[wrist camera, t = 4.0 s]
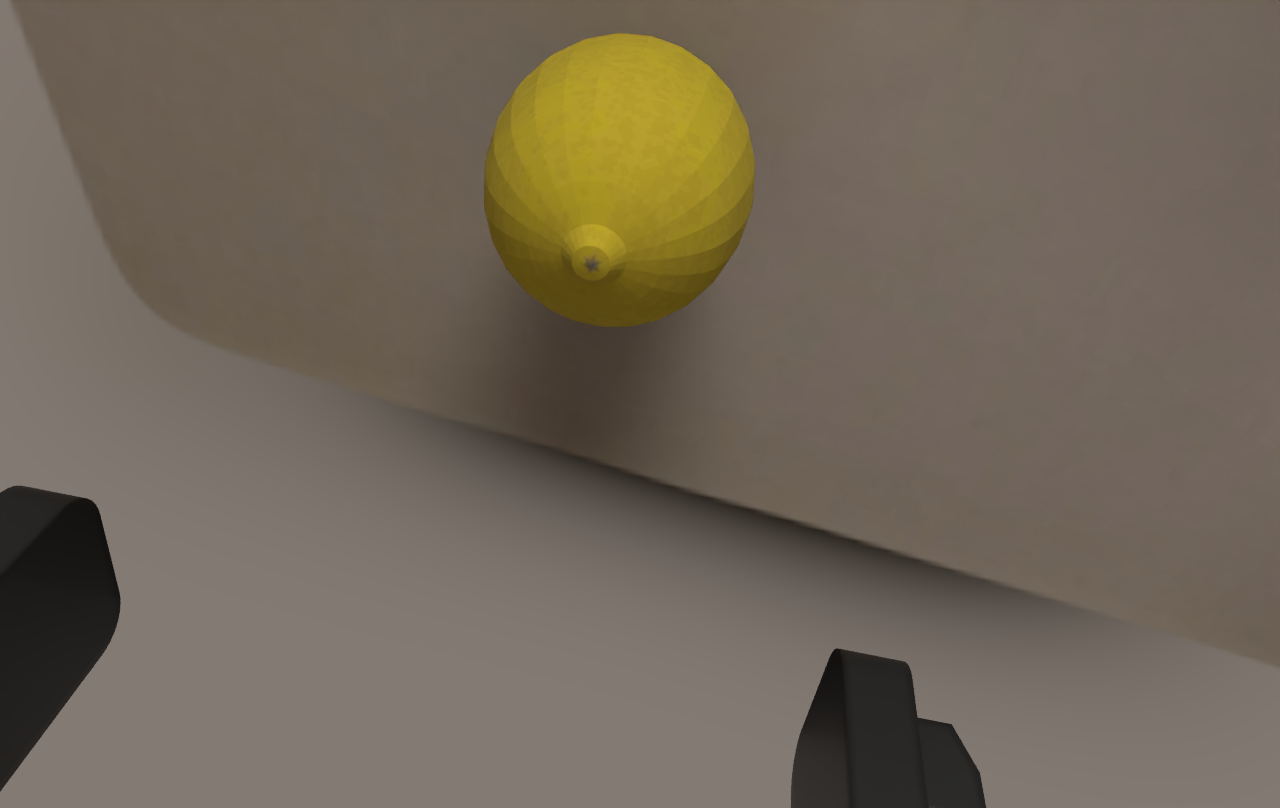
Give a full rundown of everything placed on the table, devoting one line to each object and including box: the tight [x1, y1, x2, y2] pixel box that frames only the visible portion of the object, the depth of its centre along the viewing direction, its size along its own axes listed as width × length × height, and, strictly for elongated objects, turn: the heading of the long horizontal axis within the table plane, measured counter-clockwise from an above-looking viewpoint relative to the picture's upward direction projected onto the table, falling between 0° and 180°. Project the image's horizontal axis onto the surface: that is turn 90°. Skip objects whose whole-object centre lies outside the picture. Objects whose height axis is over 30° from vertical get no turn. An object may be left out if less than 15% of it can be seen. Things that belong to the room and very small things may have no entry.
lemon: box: [484, 33, 755, 327], centre depth 20 cm, size 6×6×8 cm
